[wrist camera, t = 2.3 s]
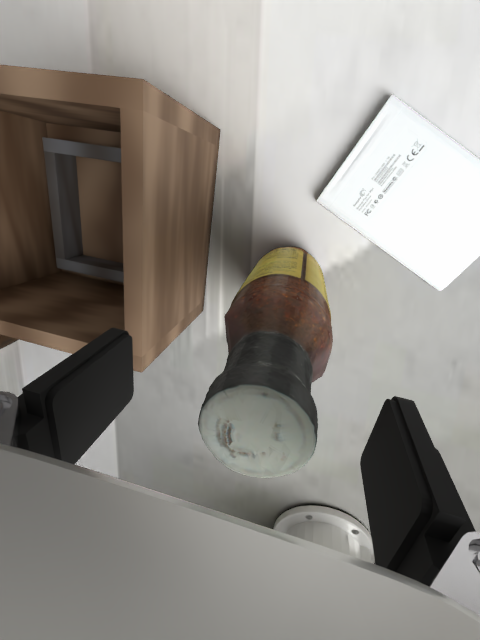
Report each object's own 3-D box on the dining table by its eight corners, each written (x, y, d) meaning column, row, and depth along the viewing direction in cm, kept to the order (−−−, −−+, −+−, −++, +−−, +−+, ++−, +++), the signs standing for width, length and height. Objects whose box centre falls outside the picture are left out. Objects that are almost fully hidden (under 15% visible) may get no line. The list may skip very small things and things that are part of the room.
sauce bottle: (243, 289, 29) (126, 438, 11) (276, 230, 26) (189, 305, 9) (302, 323, 29) (277, 528, 11) (341, 268, 26) (390, 423, 9)
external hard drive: (433, 286, 26) (315, 200, 25) (524, 200, 22) (388, 98, 22) (440, 292, 24) (315, 201, 24) (539, 200, 21) (393, 91, 20)
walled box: (220, 129, 25) (143, 79, 14) (203, 310, 31) (141, 372, 20) (39, 107, 27) (-143, 50, 16) (59, 278, 34) (-63, 317, 23)
